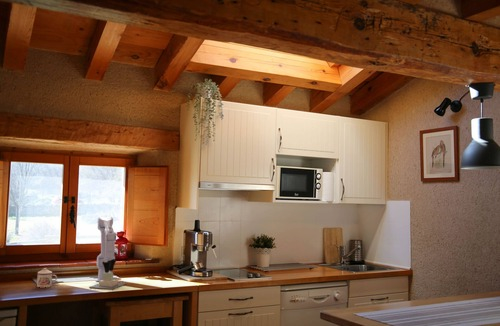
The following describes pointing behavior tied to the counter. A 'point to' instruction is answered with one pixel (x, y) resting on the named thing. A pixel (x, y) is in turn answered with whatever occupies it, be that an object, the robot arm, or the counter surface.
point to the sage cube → (108, 276)
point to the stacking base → (108, 285)
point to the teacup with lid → (45, 278)
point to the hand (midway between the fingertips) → (109, 271)
